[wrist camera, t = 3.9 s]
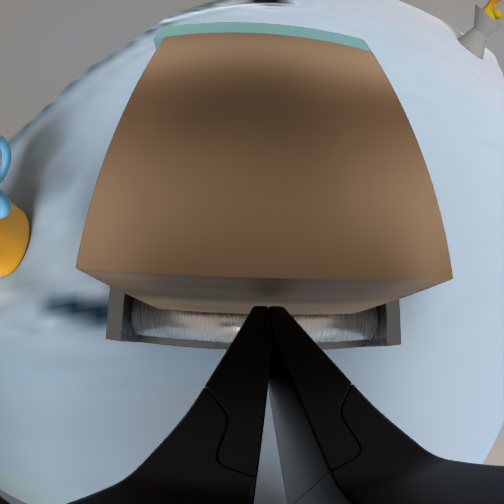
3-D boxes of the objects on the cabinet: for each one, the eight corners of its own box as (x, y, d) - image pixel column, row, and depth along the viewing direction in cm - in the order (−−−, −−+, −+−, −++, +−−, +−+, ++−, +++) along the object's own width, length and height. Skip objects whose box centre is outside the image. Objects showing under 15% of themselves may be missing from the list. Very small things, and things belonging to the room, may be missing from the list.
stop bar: (341, 127, 20) (372, 52, 13) (172, 118, 20) (153, 38, 12) (337, 111, 21) (364, 39, 13) (177, 103, 21) (162, 27, 13)
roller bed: (368, 345, 15) (400, 344, 11) (134, 340, 15) (105, 338, 11) (341, 127, 20) (354, 94, 17) (172, 118, 20) (164, 84, 16)
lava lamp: (459, 44, 37) (500, -40, 4) (455, 35, 40) (491, -41, 6) (485, 63, 36) (529, -16, 3) (479, 53, 39) (518, -20, 5)
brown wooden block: (353, 313, 12) (452, 278, 5) (159, 308, 12) (75, 268, 5) (334, 143, 15) (371, 51, 9) (184, 136, 15) (164, 36, 8)
